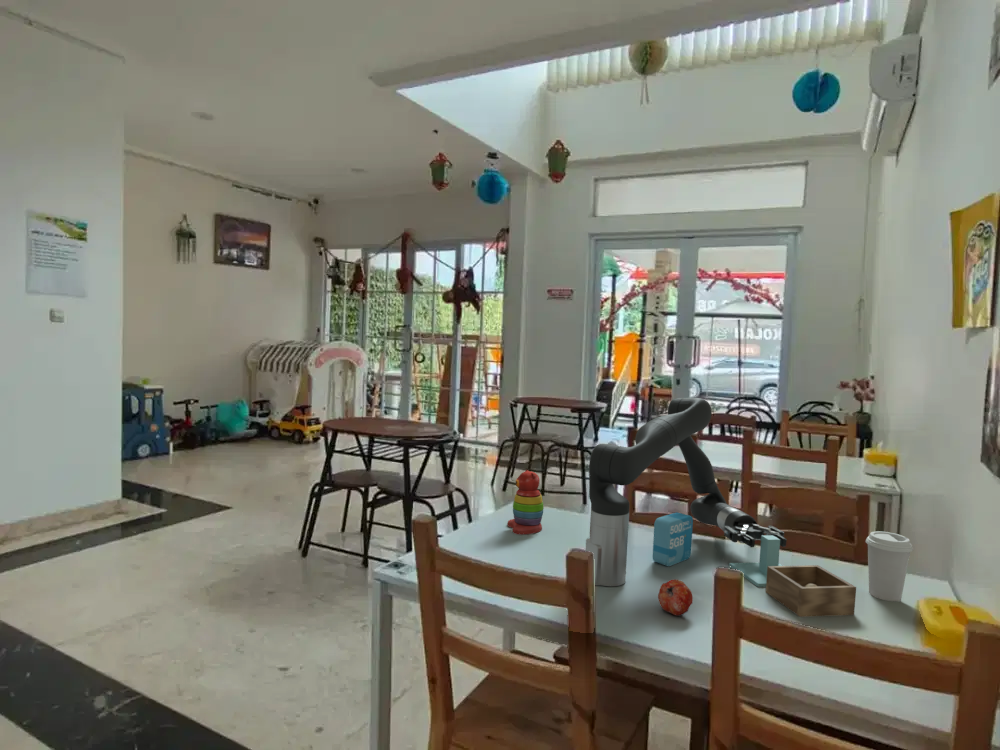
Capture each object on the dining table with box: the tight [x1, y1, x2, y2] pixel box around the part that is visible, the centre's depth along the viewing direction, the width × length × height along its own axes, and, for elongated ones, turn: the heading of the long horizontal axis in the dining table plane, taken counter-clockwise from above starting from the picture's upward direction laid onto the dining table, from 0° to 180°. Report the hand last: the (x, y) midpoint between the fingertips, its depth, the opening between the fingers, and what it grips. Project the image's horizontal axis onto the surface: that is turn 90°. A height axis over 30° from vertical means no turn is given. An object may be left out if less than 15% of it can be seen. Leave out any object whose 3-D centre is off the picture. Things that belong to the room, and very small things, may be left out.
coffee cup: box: [865, 530, 914, 603], centre depth 150 cm, size 10×10×15 cm
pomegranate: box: [657, 578, 694, 617], centre depth 139 cm, size 7×7×10 cm
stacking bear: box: [506, 469, 545, 536], centre depth 193 cm, size 11×10×18 cm
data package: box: [652, 512, 694, 567], centre depth 171 cm, size 12×4×12 cm, turn 132°
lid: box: [728, 534, 784, 588], centre depth 160 cm, size 14×14×11 cm
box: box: [765, 564, 857, 618], centre depth 144 cm, size 13×13×7 cm
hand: (769, 543), depth 161 cm, fingers open, 8 cm apart
